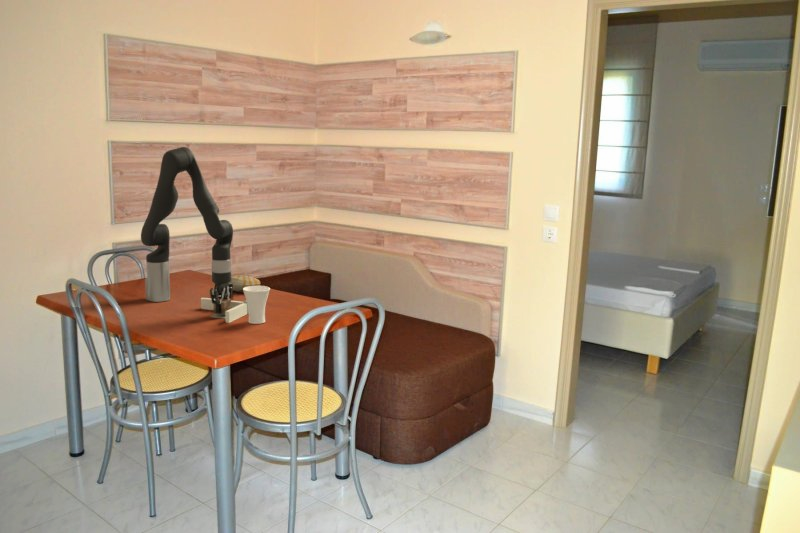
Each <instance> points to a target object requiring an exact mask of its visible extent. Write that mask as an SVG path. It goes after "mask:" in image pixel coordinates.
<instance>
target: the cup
mask: <svg viewBox="0 0 800 533" xmlns="http://www.w3.org/2000/svg"><path fill="white" fill-rule="evenodd" d="M270 290H271V288H270V287H269V286H267V285H266V286H265V285H260V286H248V287H244V288H243V291H244V292H243V294H244V296H245V300H247V304H248V310H249V314H248V323H249V324H254V325H259V324H263V323H266V306H267V305H266V304H267V300H268V297H269V294H270Z"/></svg>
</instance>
